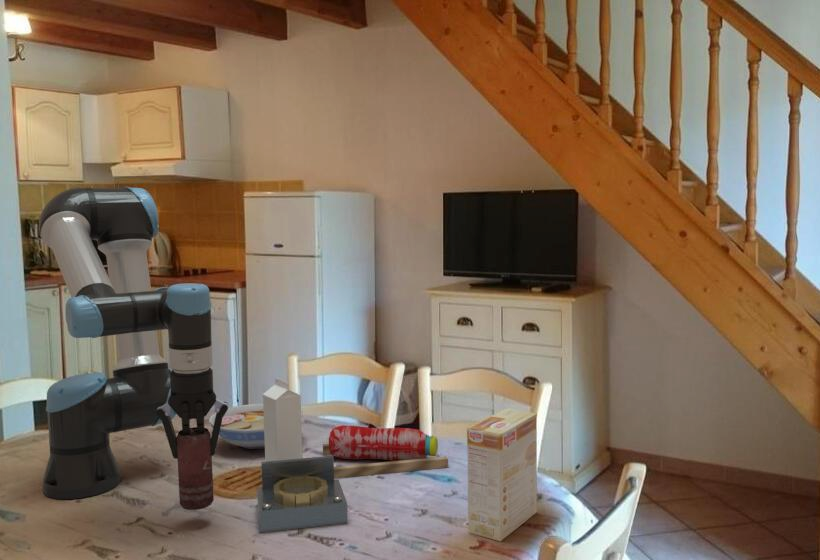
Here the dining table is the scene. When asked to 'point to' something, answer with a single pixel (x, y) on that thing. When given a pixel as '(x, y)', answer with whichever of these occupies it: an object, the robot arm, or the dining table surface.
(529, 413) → the coffeecake box
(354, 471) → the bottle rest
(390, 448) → the water bottle
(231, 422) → the ramen bowl
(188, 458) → the can
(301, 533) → the dining table surface
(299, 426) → the milk
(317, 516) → the bolted ring bracket
